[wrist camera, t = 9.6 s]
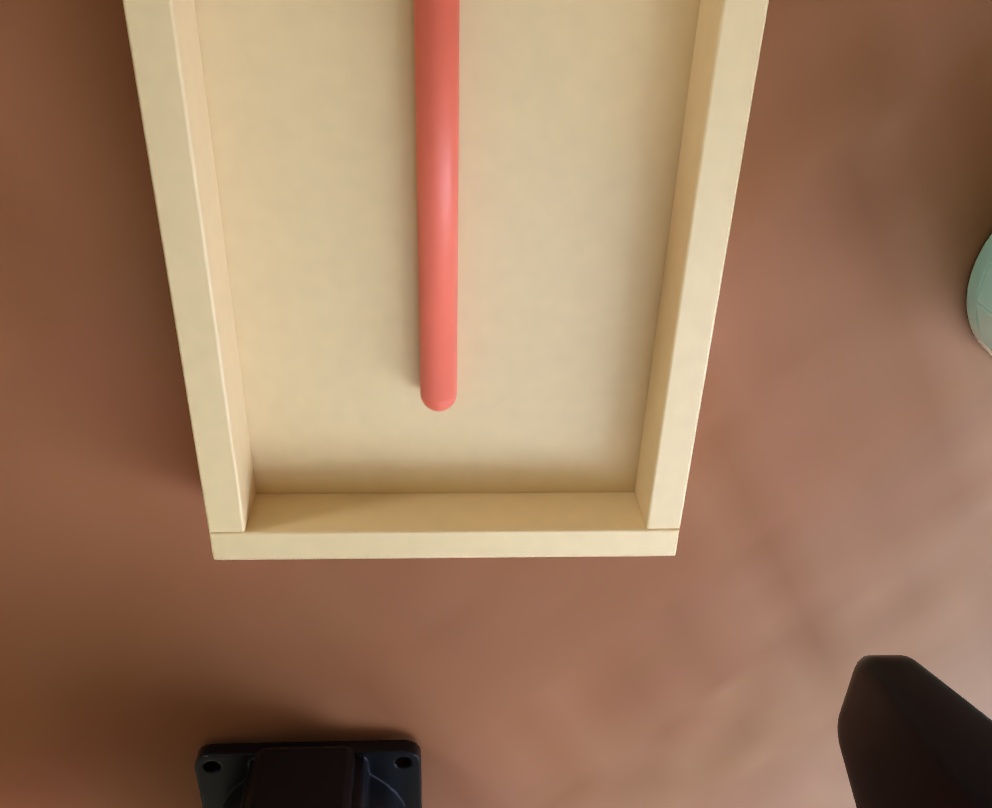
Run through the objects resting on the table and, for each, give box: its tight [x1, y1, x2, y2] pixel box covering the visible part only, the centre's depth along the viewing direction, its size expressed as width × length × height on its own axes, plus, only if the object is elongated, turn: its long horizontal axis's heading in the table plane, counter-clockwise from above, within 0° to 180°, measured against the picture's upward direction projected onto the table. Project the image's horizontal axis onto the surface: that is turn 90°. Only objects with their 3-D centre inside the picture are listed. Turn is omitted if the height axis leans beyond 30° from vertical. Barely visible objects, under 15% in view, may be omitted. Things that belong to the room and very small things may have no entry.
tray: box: [123, 0, 769, 560], centre depth 17 cm, size 19×11×2 cm, turn 178°
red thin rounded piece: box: [414, 0, 460, 411], centre depth 17 cm, size 7×1×10 cm
